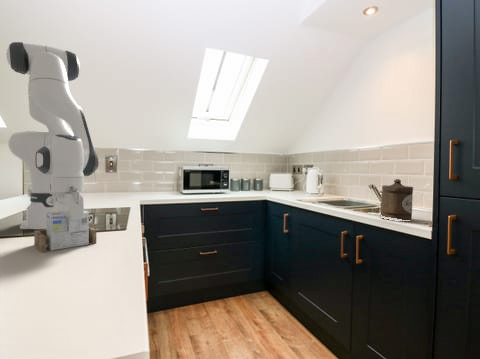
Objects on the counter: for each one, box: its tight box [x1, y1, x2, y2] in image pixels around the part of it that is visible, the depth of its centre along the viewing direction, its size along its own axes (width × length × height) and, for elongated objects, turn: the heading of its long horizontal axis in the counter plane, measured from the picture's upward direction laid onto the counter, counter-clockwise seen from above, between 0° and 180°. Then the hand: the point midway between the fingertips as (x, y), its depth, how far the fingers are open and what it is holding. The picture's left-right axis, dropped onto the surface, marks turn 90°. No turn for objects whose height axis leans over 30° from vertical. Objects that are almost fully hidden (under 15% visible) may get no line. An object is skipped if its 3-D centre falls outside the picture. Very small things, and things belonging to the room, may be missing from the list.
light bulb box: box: [45, 209, 90, 251], centre depth 88 cm, size 11×7×11 cm, turn 136°
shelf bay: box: [33, 226, 97, 253], centre depth 90 cm, size 10×15×4 cm
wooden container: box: [380, 178, 414, 221], centre depth 151 cm, size 15×15×22 cm
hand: (68, 229), depth 88 cm, fingers open, 7 cm apart
